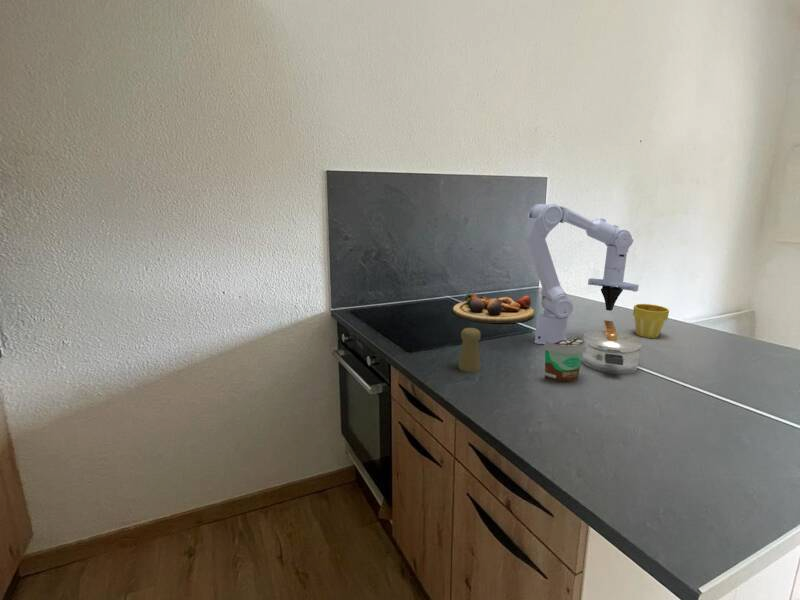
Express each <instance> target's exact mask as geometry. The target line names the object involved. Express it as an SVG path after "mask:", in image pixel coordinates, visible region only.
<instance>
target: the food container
mask: <svg viewBox="0 0 800 600" xmlns="http://www.w3.org/2000/svg"><path fill="white" fill-rule="evenodd" d="M542 349H543V350H544V379H547V380H550V381H553V382H559V383H571V382H575V380H576V381H577V380H578V379H577V378H579V373H580V368H581V365H582V364H581V363H582V355H583V352H585V351H586V343H585V340H584V339H583V337H582V336H579V335H576V338H573V339H566V340H561V341H559V342H556V343H549V342H545V344H543V348H542Z"/></svg>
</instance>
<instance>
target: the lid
mask: <svg viewBox="0 0 800 600" xmlns="http://www.w3.org/2000/svg"><path fill="white" fill-rule="evenodd" d="M602 327H603V330H604V331H602V330H599V331H598V330H597V331H588V332H585V333H584V334H583V337H582V338H583V339H584V340H585V343H586V344H587V345H589V346H591V347H594V348H597V349H601V350H605V351H611V352H620V353H630V352H637V351H639V350H640V351H641V350H642V346H643V342H642V341H641V340H639V339H638V338H636V337H634V336H631V335H628V334H624V333H619V332H616V331H617V329H616V326H615V324H614V321H613V320H603V325H602ZM640 351H639V352H640Z"/></svg>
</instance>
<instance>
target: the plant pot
mask: <svg viewBox="0 0 800 600" xmlns="http://www.w3.org/2000/svg"><path fill="white" fill-rule="evenodd" d="M632 311H633V312H632V316H634V322H635V323H634V324H635V325H634V326H635V334H636V335H637V336H640V337H643V338H649V339H656V338H658V337H659V335H660V333H661V330H662V328H663V326H664V323H665V321H667V320H668V318H669V313H670V309H669V308H667V307H664V306H663V305H662V306H661V305H658V304H651V303H650V304H649V303H636V304H634V306H633V310H632Z"/></svg>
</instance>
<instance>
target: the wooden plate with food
mask: <svg viewBox="0 0 800 600" xmlns="http://www.w3.org/2000/svg"><path fill="white" fill-rule="evenodd" d="M531 299H532V298H531V297H530V295H523V296H520V297H519V298H517V299H516V302H515V300H513V299H512V298H511V297H508V296H505V297H504V296H503V297H497V298H490V297H486V296H485V295H483V296H480V298H479V297H478V295H477V294H476V293H475V292H471V293H467V294H466V296H465V298H464V300H465V301H462V302H457V304H455V305H454V306H453V307H452V312H453V314H454V315H456V316H457V317H459V318H461V319H464V320H468V321H472V322H477V323H478V322H479V323H487V324H488V323H489V324H511V323H519V322H524V321H527V320H529V319H532V318H533V317H534V316H535V310H534V308H532V307H531V304H532V302H531Z"/></svg>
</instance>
